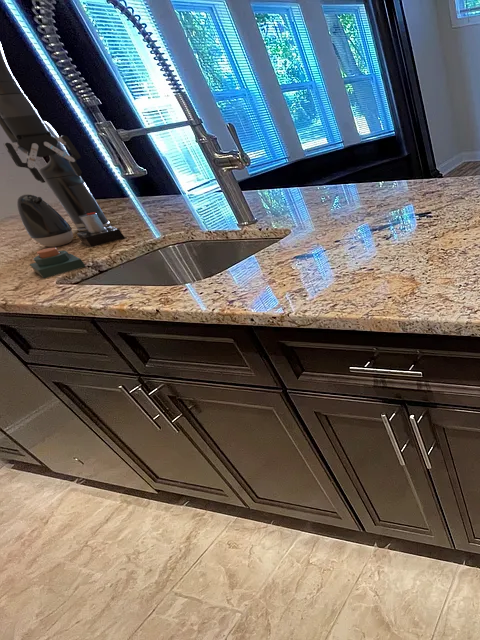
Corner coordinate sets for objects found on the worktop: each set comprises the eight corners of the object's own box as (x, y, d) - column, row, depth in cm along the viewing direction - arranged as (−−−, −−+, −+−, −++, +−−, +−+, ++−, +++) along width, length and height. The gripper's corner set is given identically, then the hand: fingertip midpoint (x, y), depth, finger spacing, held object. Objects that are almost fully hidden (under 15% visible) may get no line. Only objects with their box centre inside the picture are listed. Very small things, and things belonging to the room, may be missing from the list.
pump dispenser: (55, 249, 132) (18, 198, 123) (31, 249, 134) (-7, 199, 125) (87, 239, 140) (55, 190, 131) (64, 239, 142) (30, 191, 133)
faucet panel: (82, 242, 137) (75, 232, 135) (114, 234, 143) (109, 225, 141) (91, 247, 132) (84, 236, 130) (125, 238, 138) (118, 228, 136)
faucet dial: (91, 233, 133) (79, 216, 130) (87, 232, 135) (76, 214, 132) (107, 230, 136) (97, 212, 133) (103, 228, 138) (93, 211, 135)
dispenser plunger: (39, 257, 113) (35, 251, 112) (58, 253, 116) (54, 246, 115) (43, 260, 111) (38, 253, 110) (62, 255, 114) (57, 248, 113)
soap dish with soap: (35, 271, 115) (24, 257, 113) (75, 261, 121) (66, 247, 119) (44, 278, 110) (32, 263, 108) (86, 266, 116) (76, 252, 114)
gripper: (49, 111, 122) (87, 173, 131) (-19, 118, 113) (27, 183, 122) (56, 111, 118) (94, 174, 128) (-14, 117, 109) (33, 185, 119)
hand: (61, 179), depth 125 cm, fingers open, 8 cm apart
